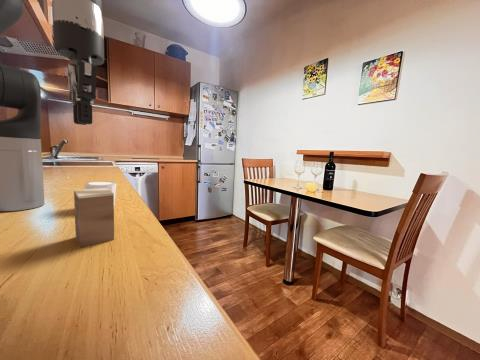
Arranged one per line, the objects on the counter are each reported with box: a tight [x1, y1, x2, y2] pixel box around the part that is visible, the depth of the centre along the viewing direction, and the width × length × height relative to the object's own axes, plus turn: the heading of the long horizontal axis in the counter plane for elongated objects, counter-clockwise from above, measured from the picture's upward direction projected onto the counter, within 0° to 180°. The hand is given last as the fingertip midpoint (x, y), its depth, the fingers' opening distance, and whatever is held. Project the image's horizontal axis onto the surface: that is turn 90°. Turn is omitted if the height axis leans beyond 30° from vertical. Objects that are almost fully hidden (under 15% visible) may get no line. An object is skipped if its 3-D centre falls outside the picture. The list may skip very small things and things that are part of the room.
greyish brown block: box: [73, 188, 115, 248], centre depth 37 cm, size 5×5×9 cm
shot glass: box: [84, 180, 117, 204], centre depth 54 cm, size 7×7×7 cm
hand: (82, 123), depth 40 cm, fingers open, 4 cm apart
